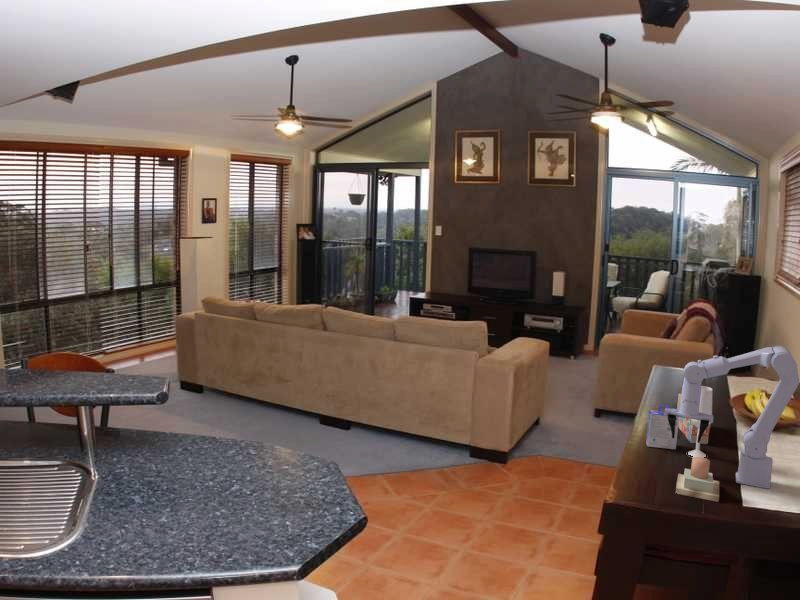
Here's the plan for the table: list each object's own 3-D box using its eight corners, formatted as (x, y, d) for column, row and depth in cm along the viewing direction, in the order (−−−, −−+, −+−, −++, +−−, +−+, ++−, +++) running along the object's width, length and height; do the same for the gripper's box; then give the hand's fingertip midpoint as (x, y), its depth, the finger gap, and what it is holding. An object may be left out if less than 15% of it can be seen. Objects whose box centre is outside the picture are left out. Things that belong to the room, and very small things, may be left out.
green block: (711, 482, 225) (712, 473, 225) (712, 492, 218) (713, 483, 217) (683, 477, 228) (684, 468, 227) (683, 487, 220) (684, 478, 220)
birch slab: (718, 488, 226) (719, 481, 226) (718, 504, 216) (719, 496, 215) (677, 480, 231) (678, 473, 231) (675, 495, 220) (676, 488, 220)
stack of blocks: (708, 444, 261) (712, 412, 259) (690, 443, 262) (694, 410, 259) (691, 424, 282) (695, 393, 280) (675, 422, 283) (678, 392, 280)
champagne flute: (696, 450, 255) (704, 384, 251) (711, 457, 249) (720, 390, 245) (682, 452, 252) (689, 386, 248) (696, 459, 246) (705, 392, 242)
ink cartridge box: (674, 444, 260) (678, 405, 257) (676, 450, 254) (681, 410, 252) (645, 441, 262) (649, 402, 259) (647, 447, 256) (651, 407, 254)
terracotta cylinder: (704, 472, 225) (706, 457, 224) (710, 479, 220) (712, 463, 219) (688, 471, 225) (690, 456, 224) (693, 478, 220) (695, 463, 219)
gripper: (715, 399, 234) (710, 439, 237) (667, 392, 240) (663, 431, 242) (714, 405, 228) (709, 446, 230) (666, 398, 233) (661, 438, 236)
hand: (685, 439), depth 236 cm, fingers open, 7 cm apart
